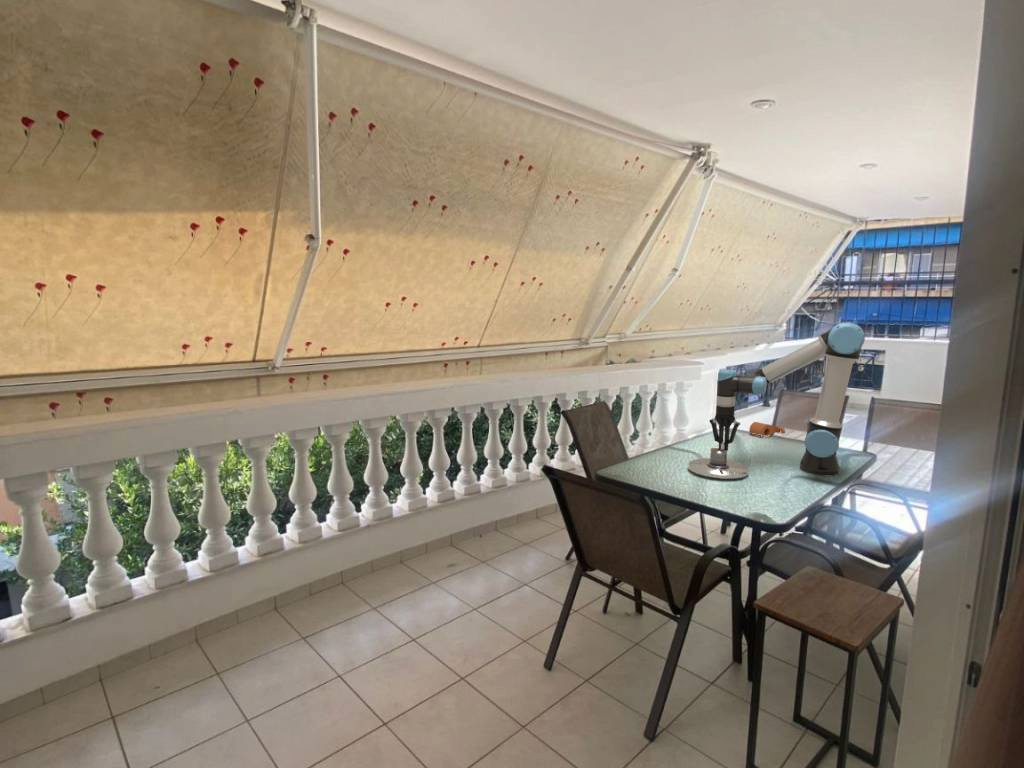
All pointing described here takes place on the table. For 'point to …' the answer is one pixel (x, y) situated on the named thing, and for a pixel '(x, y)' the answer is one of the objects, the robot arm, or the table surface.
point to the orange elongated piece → (764, 429)
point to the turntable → (729, 473)
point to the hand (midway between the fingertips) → (722, 457)
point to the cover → (718, 458)
